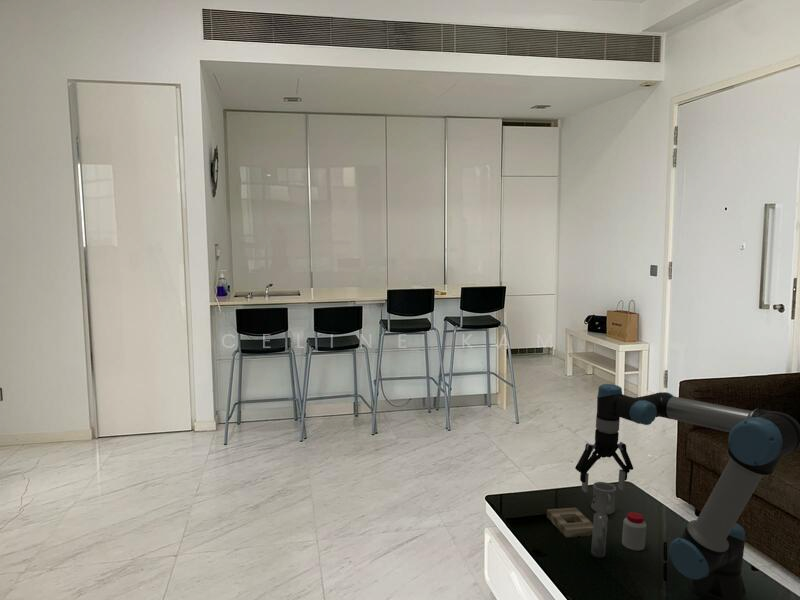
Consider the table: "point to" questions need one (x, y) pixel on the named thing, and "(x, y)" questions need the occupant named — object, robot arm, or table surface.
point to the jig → (570, 529)
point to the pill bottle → (634, 531)
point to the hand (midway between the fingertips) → (602, 490)
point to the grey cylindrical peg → (599, 534)
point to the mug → (603, 497)
